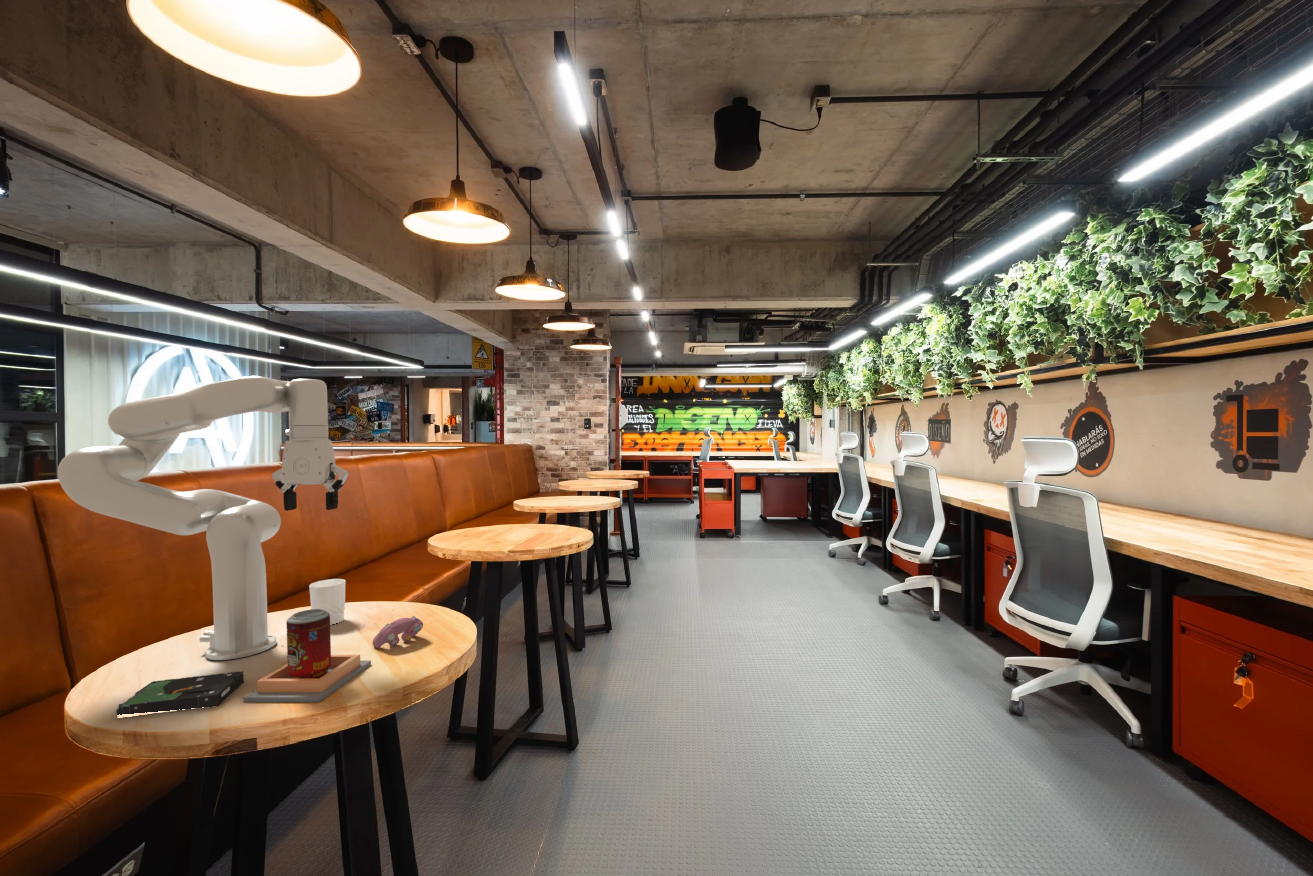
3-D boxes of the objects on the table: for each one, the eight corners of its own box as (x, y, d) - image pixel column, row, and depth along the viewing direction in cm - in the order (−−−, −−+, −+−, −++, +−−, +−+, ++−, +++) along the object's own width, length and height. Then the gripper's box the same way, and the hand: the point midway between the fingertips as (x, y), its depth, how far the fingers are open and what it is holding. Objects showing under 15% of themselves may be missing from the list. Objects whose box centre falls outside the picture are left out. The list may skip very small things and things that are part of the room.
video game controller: (379, 658, 122) (386, 632, 120) (369, 645, 124) (376, 619, 122) (421, 644, 130) (428, 619, 128) (411, 631, 132) (418, 607, 130)
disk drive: (244, 684, 108) (151, 695, 104) (244, 670, 108) (151, 680, 104) (218, 710, 98) (114, 722, 94) (218, 693, 98) (114, 705, 94)
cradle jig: (243, 701, 99) (242, 686, 99) (304, 664, 115) (304, 651, 115) (319, 702, 98) (319, 686, 98) (370, 664, 114) (370, 650, 114)
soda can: (278, 683, 104) (277, 617, 104) (310, 668, 111) (309, 606, 111) (309, 687, 103) (307, 620, 102) (340, 671, 109) (338, 608, 109)
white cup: (353, 618, 145) (352, 579, 145) (329, 628, 137) (328, 587, 137) (328, 616, 146) (326, 578, 146) (302, 626, 139) (301, 586, 139)
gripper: (259, 435, 124) (262, 512, 124) (335, 433, 123) (337, 511, 123) (284, 434, 131) (286, 508, 131) (355, 433, 130) (357, 506, 130)
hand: (311, 509), depth 127 cm, fingers open, 9 cm apart
